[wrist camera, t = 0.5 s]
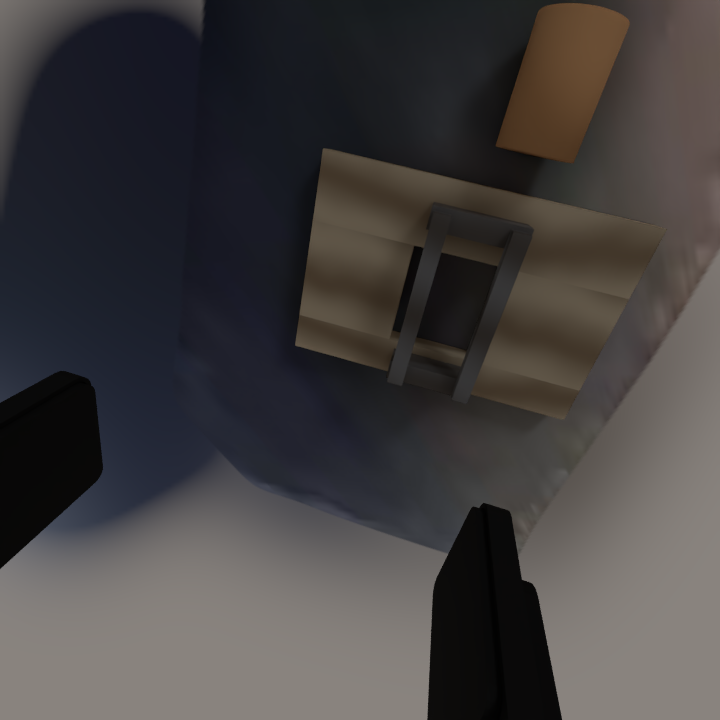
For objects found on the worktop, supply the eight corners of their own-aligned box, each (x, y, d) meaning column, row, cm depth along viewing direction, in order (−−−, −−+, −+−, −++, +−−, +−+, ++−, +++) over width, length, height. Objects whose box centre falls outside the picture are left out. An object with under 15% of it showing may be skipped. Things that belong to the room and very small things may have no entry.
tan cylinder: (530, 23, 26) (547, -4, 21) (611, 39, 25) (645, 15, 21) (491, 146, 29) (499, 144, 25) (562, 162, 29) (583, 163, 24)
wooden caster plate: (330, 149, 31) (307, 147, 26) (653, 225, 29) (694, 238, 24) (302, 336, 39) (280, 362, 34) (558, 407, 37) (574, 446, 32)
